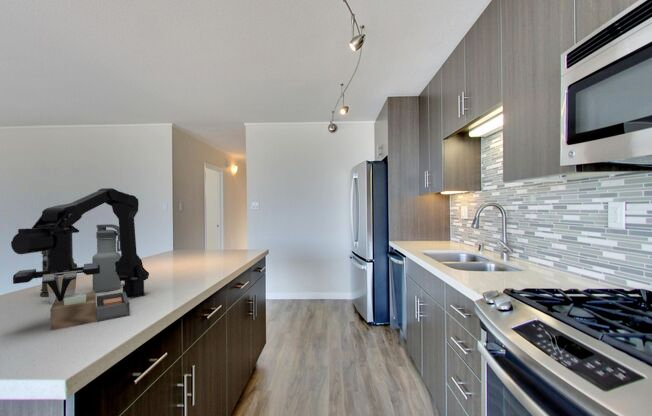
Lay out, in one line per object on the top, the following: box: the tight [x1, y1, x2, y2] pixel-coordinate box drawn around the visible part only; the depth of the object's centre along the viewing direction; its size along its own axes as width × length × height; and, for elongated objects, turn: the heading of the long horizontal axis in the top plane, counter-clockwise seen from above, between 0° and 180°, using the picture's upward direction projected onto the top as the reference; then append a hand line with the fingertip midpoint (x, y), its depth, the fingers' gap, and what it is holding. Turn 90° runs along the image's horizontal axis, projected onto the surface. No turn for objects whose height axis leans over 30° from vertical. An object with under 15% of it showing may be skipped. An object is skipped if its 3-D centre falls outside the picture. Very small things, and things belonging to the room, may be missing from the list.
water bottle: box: [91, 223, 122, 293], centre depth 125 cm, size 10×10×28 cm
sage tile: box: [64, 291, 87, 306], centre depth 89 cm, size 5×5×2 cm
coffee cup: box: [45, 262, 78, 305], centre depth 109 cm, size 9×9×15 cm
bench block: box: [49, 290, 97, 331], centre depth 91 cm, size 10×16×6 cm, turn 38°
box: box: [96, 291, 131, 323], centre depth 97 cm, size 8×17×4 cm, turn 38°
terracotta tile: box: [104, 297, 122, 307], centre depth 100 cm, size 5×5×2 cm
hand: (60, 301), depth 87 cm, fingers closed
